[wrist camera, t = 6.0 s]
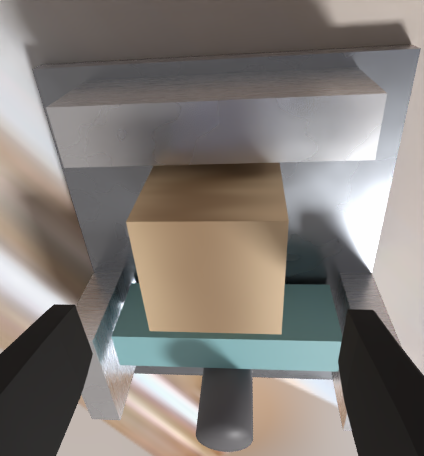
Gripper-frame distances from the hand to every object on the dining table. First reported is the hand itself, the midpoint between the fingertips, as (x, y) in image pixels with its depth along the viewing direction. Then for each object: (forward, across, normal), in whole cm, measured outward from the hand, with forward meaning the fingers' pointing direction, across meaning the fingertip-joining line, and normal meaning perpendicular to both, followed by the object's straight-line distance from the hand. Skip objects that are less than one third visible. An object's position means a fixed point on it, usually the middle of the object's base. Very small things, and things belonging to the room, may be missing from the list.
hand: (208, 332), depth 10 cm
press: (+9, 0, +4) cm, 9 cm away
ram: (+7, 0, +7) cm, 10 cm away
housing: (+8, 0, 0) cm, 8 cm away
